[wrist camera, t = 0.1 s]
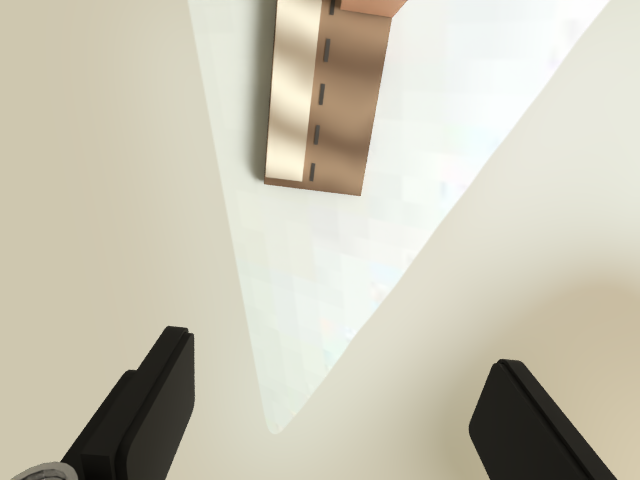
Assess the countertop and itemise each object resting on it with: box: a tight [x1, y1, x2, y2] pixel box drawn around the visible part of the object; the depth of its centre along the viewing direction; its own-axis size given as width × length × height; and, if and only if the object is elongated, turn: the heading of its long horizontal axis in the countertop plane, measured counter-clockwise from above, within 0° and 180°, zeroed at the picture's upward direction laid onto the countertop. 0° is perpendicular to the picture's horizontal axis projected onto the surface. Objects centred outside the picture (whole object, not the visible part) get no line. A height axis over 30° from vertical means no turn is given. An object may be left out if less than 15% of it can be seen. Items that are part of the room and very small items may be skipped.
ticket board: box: [264, 0, 392, 196], centre depth 34 cm, size 28×11×2 cm, turn 173°
